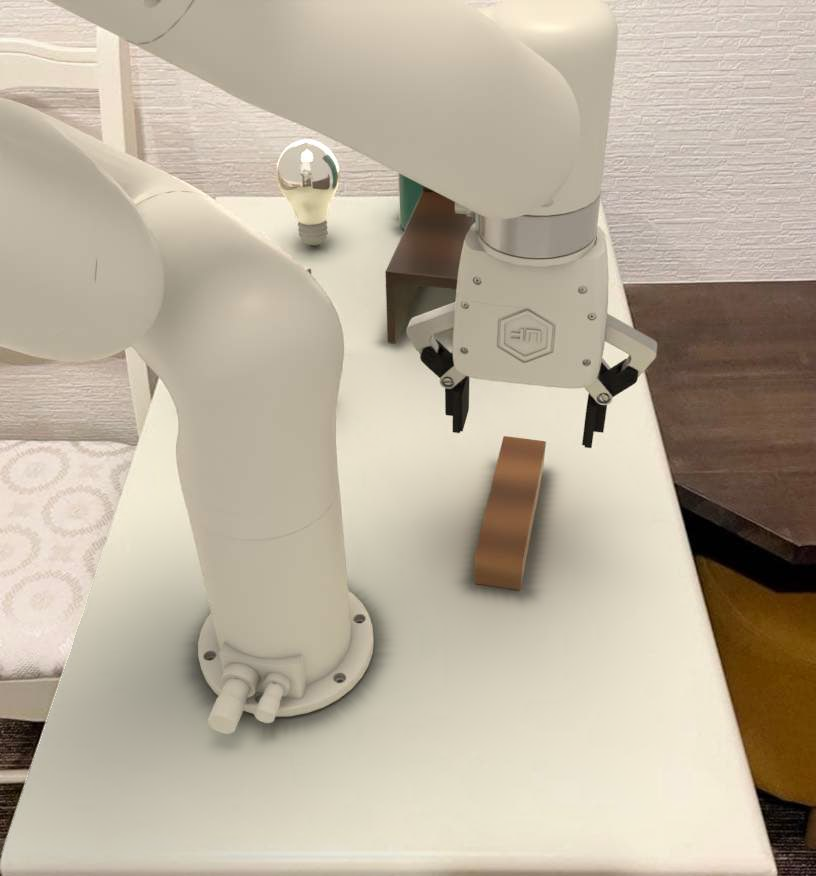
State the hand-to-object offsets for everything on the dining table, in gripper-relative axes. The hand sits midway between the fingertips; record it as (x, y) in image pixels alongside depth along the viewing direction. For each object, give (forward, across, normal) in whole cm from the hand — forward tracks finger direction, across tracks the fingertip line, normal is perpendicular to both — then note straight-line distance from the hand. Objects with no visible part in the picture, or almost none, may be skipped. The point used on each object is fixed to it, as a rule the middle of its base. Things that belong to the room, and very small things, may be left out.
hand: (523, 428), depth 74 cm
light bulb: (+10, -30, +41) cm, 52 cm away
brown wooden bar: (+10, -1, -1) cm, 10 cm away
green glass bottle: (+11, -17, +49) cm, 53 cm away
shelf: (+10, -11, +32) cm, 36 cm away
